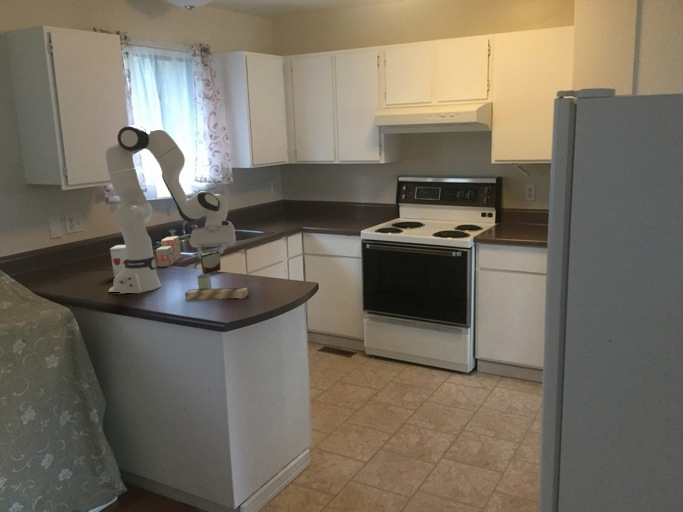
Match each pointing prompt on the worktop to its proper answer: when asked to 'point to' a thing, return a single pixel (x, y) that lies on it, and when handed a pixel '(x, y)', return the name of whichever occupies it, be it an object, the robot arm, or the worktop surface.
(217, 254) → the food container
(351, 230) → the worktop surface
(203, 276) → the post
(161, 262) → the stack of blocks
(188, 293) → the maple plank
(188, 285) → the worktop surface
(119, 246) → the supplement box
